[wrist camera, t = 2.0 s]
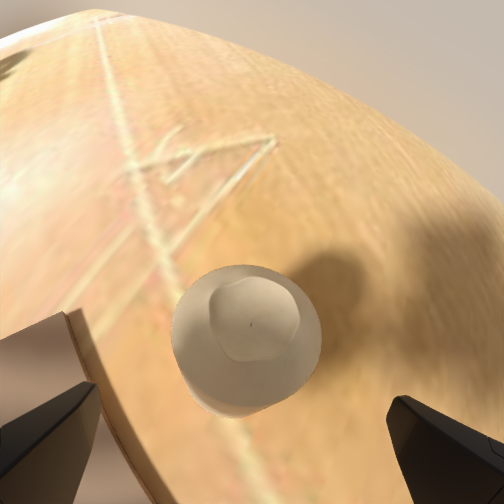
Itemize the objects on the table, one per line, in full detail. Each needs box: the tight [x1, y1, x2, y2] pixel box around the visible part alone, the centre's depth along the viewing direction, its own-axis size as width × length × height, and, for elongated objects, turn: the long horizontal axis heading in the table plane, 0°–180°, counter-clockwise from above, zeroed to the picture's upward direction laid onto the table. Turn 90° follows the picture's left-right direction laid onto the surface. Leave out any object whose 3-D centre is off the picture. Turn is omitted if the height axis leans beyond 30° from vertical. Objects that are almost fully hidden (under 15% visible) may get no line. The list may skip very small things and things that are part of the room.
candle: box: [171, 265, 322, 418], centre depth 14 cm, size 6×6×10 cm
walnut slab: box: [0, 311, 157, 504], centre depth 13 cm, size 14×14×1 cm
